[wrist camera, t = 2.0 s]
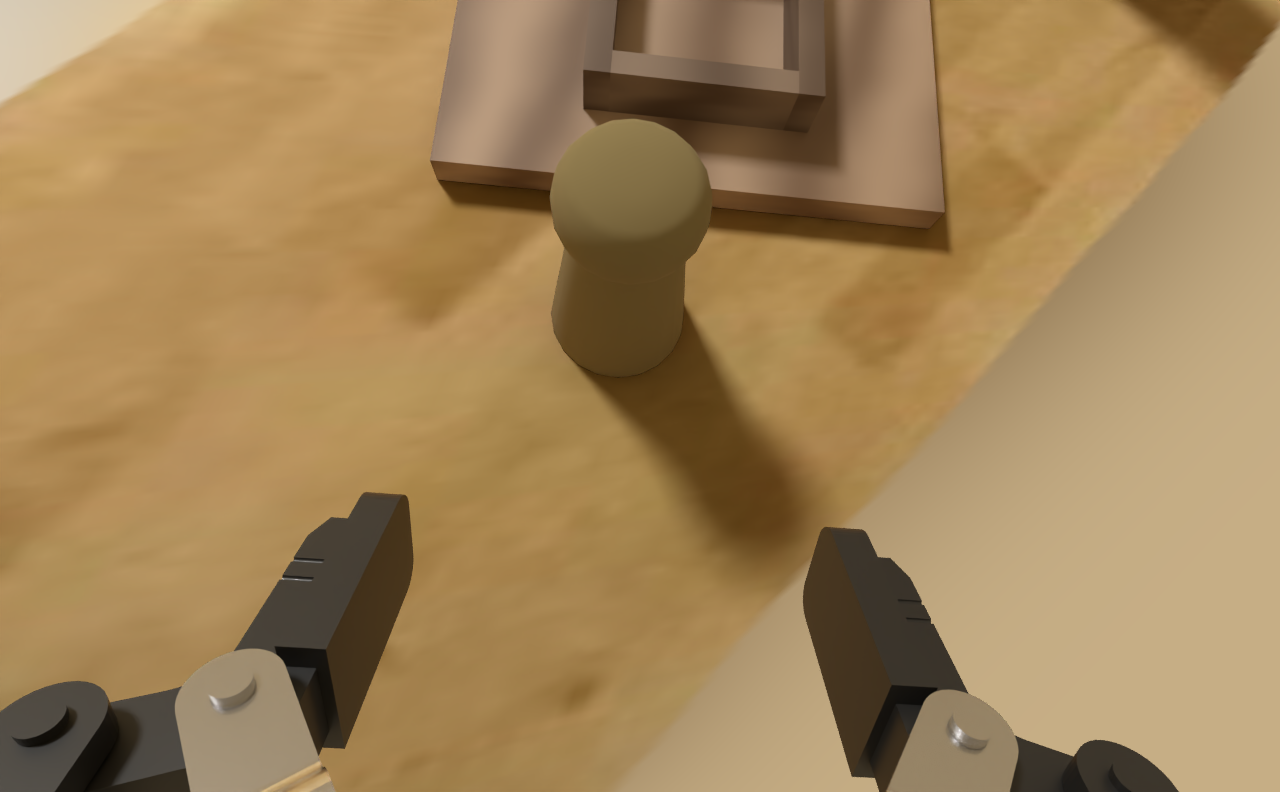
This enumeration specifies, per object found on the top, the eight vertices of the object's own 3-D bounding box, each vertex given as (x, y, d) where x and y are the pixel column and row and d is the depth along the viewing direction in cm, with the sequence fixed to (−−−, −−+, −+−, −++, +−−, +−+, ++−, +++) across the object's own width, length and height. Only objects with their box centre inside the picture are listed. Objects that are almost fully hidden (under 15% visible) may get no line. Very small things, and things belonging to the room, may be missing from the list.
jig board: (437, 179, 31) (416, 123, 27) (485, -107, 36) (473, -188, 32) (929, 228, 33) (974, 181, 29) (911, -53, 38) (947, -125, 34)
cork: (524, 299, 30) (491, 146, 20) (631, 231, 31) (654, 54, 21) (603, 403, 29) (613, 301, 18) (709, 328, 30) (776, 194, 20)
